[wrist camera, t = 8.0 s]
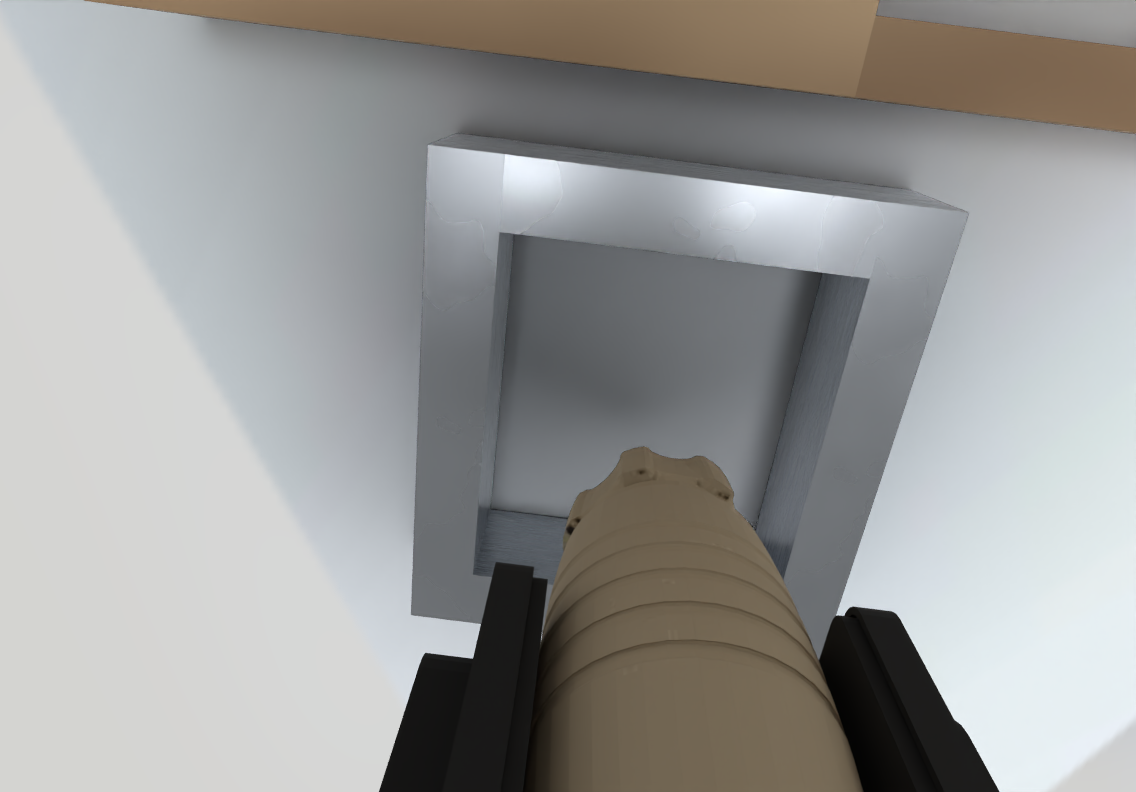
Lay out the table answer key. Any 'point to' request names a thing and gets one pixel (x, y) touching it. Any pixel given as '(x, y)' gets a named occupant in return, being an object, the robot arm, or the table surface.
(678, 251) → the collar
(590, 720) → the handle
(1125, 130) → the wooden box
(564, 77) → the table surface
